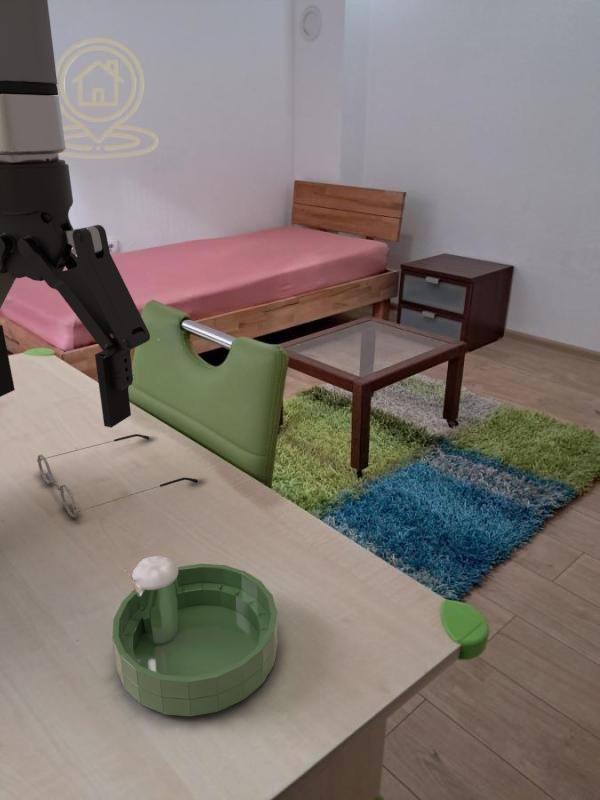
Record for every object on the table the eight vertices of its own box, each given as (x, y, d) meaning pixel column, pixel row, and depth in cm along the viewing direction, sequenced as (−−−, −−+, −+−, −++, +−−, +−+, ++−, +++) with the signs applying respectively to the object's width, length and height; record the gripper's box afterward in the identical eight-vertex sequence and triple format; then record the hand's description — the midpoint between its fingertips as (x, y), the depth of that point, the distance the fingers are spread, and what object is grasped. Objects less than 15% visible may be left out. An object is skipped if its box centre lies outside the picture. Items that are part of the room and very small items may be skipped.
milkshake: (125, 633, 67) (115, 557, 63) (171, 611, 70) (164, 537, 66) (144, 660, 64) (134, 581, 60) (191, 636, 67) (184, 560, 63)
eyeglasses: (36, 471, 99) (32, 448, 97) (148, 441, 109) (147, 420, 108) (75, 526, 86) (71, 501, 84) (198, 486, 96) (198, 463, 95)
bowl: (83, 685, 62) (76, 647, 60) (176, 583, 75) (173, 549, 73) (229, 745, 56) (226, 705, 54) (300, 623, 70) (301, 587, 68)
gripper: (180, 160, 47) (196, 415, 56) (-58, 150, 56) (-12, 372, 65) (116, 166, 41) (146, 452, 50) (-141, 154, 50) (-77, 399, 59)
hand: (56, 407), depth 57 cm, fingers open, 13 cm apart
